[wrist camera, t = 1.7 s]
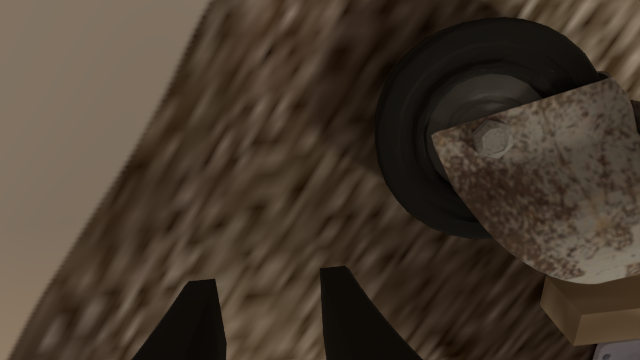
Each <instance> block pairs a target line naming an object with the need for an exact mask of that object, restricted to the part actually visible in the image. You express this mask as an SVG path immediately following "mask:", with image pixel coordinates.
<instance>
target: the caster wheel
mask: <svg viewBox="0 0 640 360" xmlns="http://www.w3.org/2000/svg"><path fill="white" fill-rule="evenodd" d="M375 145H376V151H377V158H378V164H379V167H380V169H381V172H382V174H383V177H384V179H385V182H386V184H387V186H388V187H389V189H390V190H391V192H392V193H393V195H394V196H395V198H396V200H397V201H398V202H399V203H400V204H401V205H402V206H403V207H404V208H405V209H406V211H407V212H409V213H410V214H411V215H412V216H414V217H415V218H416V219H418V220H419V221H421V222H422V223H424V224H426V225H427V226H429V227H431V228H433V229H435V230H438V231H441V232H443V233H446V234H449V235H453V236H458V237H463V238H469V239H495V240H496V241H498V242H499V243H500V244H501V245H502V246H503V247H504V248H505V249H506V250H507V251H509V252H510V253H511V254H513V255H514V256H515V257H517V258H518V259H520V260H521V261H523V262H524V263H526V264H528V265H529V266H531V267H533V268H534V269H536V270H538V271H540V272H543V273H545V274H547V275H549V276H552V277H555V278H558V279H561V280H565V281H570V282H575V283H583V284H599V283H603V282H607V281H612V280H616V279H621V278H625V277H629V276H634V275H638V274H640V102H639V101H634V100H629V97H628V95H627V93H626V92H625V91H624V90H623V89H622V87H621V86H620V85H619V84H618V83H617V82H616V80H615V79H614V78H613V77H612V76H611V75H610V74H609V73H607V72H603V71H596V70H595V68H594V67H593V65H592V64H591V62H590V60H589V59H588V57H587V56H586V54H585V53H584V52H583V51H582V50H581V49H580V48H579V47H577V46H576V45H575V44H574V43H573V42H572V41H570V40H569V39H568V38H567V37H566V36H564V35H562V34H560V33H559V32H557V31H555V30H553V29H552V28H550V27H548V26H545V25H542V24H539V23H536V22H532V21H528V20H524V19H517V18H507V17H499V18H484V19H479V20H475V21H470V22H465V23H461V24H458V25H455V26H452V27H449V28H446V29H444V30H442V31H440V32H438V33H436V34H434V35H432V36H429V37H427V38H426V39H424V40H423V41H422V42H421V43H419V44H418V45H417V46H415V47H414V48H413V49H412V50H410V51H409V52H408V53H407V54H406V55H405V56H404V57H403V58H402V59H401V60H400V62H399V63H398V64H397V65H396V67H395V68H394V70H393V71H392V73H391V74H390V76H389V78H388V79H387V81H386V83H385V86H384V88H383V91H382V93H381V96H380V98H379V100H378V105H377V110H376V116H375Z"/></svg>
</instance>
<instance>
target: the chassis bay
mask: <svg viewBox="0 0 640 360" xmlns="http://www.w3.org/2000/svg"><path fill="white" fill-rule="evenodd" d="M540 306H541V307H542V309H543V310H544V311H545V312H546V313H547V315H548V316H549V317H550V318H551V320H552V321H553V322H554V323H555V325H556V326H557V327H558V328H559V329H560V331H561V332H562V333H563V334H564V336H565V337H566V338H567V339H568V341H569V342H570V343H571V344H572V345H573V346H580V345H588V344H597V343H605V342H613V341H622V340H630V339H639V338H640V274H638V275H634V276H629V277H625V278H621V279H616V280H612V281H607V282H603V283H599V284H583V283H575V282H570V281H565V280H561V279H558V278H555V277H552V276H549V275H548V276H546V278H545V283H544V287H543V292H542V296H541V301H540Z"/></svg>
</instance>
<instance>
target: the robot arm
mask: <svg viewBox="0 0 640 360" xmlns="http://www.w3.org/2000/svg"><path fill="white" fill-rule="evenodd" d="M320 280H321V301H322V321H323V336H324V344H325V352H326V359H327V360H423V359H422V358H421V357H420V356H419V355H418V354H417V353H416V352H415V351H414V350H413V349H412V348H411V347H410V346H409V345H408V344H407V343H406V342H405V341H404V340H403V339H402V337H401V336H400V335H399V334H398V333H397V332H396V331H395V330H394V328H393V327H392V326H391V325H390V324H389V322H388V321H387V320H386V319H385V318H384V317H383V315H382V314H381V313H380V312H379V311H378V309H377V308H376V307H375V305H374V304H373V303H372V302H371V300H370V299H369V298H368V296H367V295H366V294H365V292H364V291H363V289H362V288H361V287H360V285H359V284H358V282H357V281H356V279H355V278H354V276H353V274H352V273H351V271H350V269H348V268H347V267H346V266H339V267H329V268H320ZM226 346H227V343H226V338H225V332H224V326H223V321H222V315H221V309H220V304H219V298H218V292H217V287H216V281H215V279H208V280H198V281H189V282H188V283H187V284H186V285H185V286H184V288H183V289H182V291H181V292H180V294H179V295H178V297H177V298H176V300H175V301H174V303H173V304H172V306H171V307H170V309H169V310H168V311H167V313H166V314H165V316H164V317H163V318H162V320H161V321H160V323H159V324H158V326H157V327H156V328H155V330H154V331H153V332H152V334H151V335H150V336H149V338H148V339H147V340H146V342H145V343H144V344H143V346H142V347H141V348H140V349H139V351H138V352H137V353H136V355H135V356H134V357H133V358H132V360H226ZM593 360H640V338H639V339H630V340H622V341H613V342H605V343H599V344H598V345H597V347H596V350H595V354H594V357H593Z"/></svg>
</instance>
